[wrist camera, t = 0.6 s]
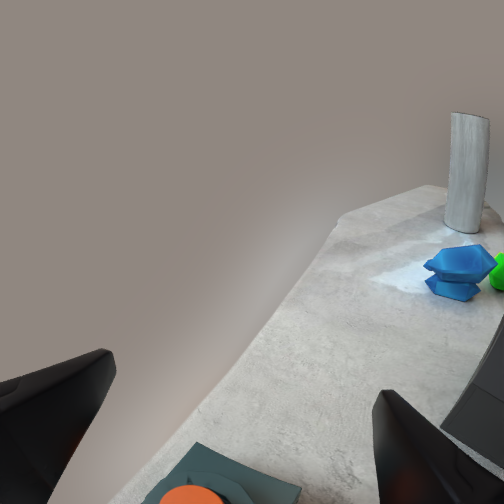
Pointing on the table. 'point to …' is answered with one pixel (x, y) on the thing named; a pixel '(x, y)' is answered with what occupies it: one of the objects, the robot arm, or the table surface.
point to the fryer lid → (493, 369)
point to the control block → (224, 480)
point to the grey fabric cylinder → (467, 172)
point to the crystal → (459, 271)
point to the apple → (498, 272)
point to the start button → (191, 496)
